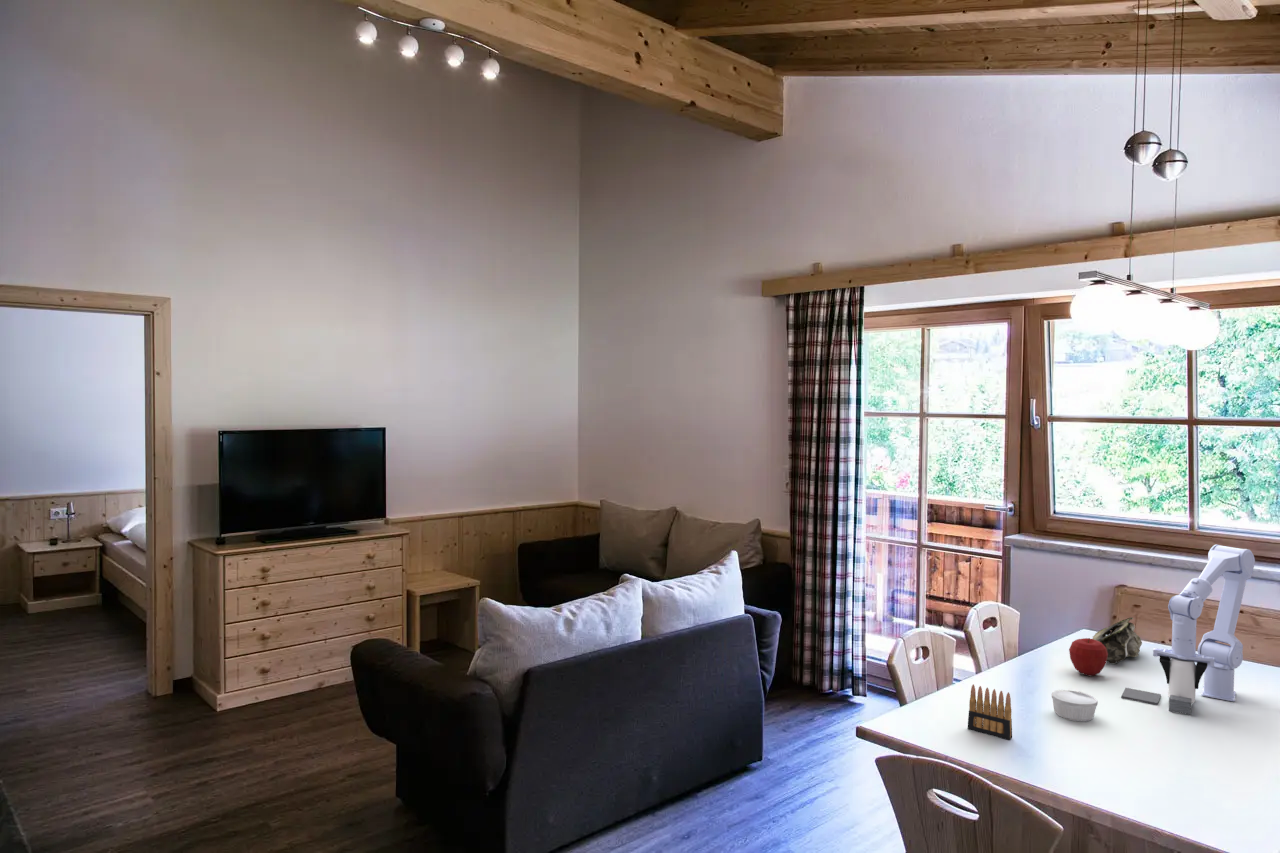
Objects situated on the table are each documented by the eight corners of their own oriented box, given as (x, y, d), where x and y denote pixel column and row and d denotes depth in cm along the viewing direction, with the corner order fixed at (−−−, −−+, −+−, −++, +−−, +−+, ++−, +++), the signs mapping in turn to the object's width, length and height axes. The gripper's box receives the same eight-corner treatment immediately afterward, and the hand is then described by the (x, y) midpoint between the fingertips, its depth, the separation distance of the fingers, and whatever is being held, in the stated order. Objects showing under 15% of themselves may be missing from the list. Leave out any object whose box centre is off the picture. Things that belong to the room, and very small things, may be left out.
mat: (1125, 689, 250) (1125, 687, 250) (1160, 696, 245) (1160, 694, 245) (1121, 697, 243) (1121, 695, 243) (1157, 705, 237) (1157, 702, 237)
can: (1199, 705, 234) (1200, 662, 234) (1173, 703, 235) (1175, 660, 235) (1189, 697, 240) (1190, 656, 240) (1164, 695, 241) (1165, 654, 241)
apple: (1071, 666, 271) (1072, 630, 271) (1109, 673, 265) (1110, 636, 265) (1065, 675, 262) (1066, 638, 262) (1104, 682, 256) (1105, 645, 256)
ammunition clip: (1012, 738, 213) (1013, 692, 213) (1010, 740, 212) (1011, 694, 211) (969, 727, 220) (970, 682, 220) (967, 729, 219) (968, 684, 218)
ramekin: (1102, 715, 229) (1102, 696, 229) (1090, 727, 221) (1091, 707, 221) (1058, 704, 237) (1058, 686, 237) (1045, 715, 229) (1046, 696, 229)
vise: (1174, 693, 247) (1174, 682, 247) (1194, 697, 244) (1195, 685, 244) (1168, 710, 233) (1169, 698, 233) (1190, 715, 230) (1190, 702, 230)
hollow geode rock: (1106, 681, 271) (1144, 655, 264) (1076, 648, 277) (1112, 622, 269) (1128, 659, 292) (1163, 635, 284) (1100, 629, 297) (1133, 604, 290)
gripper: (1152, 636, 238) (1151, 683, 239) (1214, 646, 229) (1212, 694, 230) (1155, 631, 244) (1153, 677, 244) (1215, 640, 235) (1213, 687, 236)
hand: (1182, 685), depth 237 cm, fingers closed on can, 6 cm apart
